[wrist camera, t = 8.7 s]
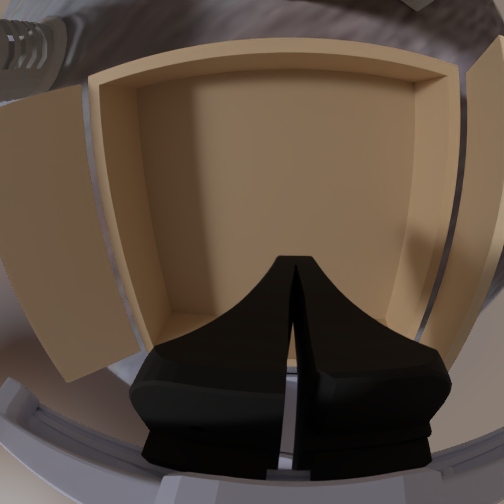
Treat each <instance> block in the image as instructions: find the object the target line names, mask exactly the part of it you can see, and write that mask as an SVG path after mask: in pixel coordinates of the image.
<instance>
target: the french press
mask: <svg viewBox="0 0 504 504" xmlns="http://www.w3.org/2000/svg"><path fill="white" fill-rule="evenodd" d="M7 35H12V36H13V38H14V40H15V41H9V39H8V36H7ZM19 36H22V37H21V38H19ZM67 39H68V38H67V31H66V24H65V23H64V22H63V21H62V20H61V18H60V17H59V16H47V17H45V18H43V19H41V20H39V21H38V22H36V23H35V22H31V23H30V22H27V21H21V22H20V21H18V20H11V21H9V20H6V19H1V20H0V102H2V101H11V100H13V101H14V102H16V101H19V100H22V99H25V98H28V97H31V96H34V95H38V94H41V93H45V92H48V91H49V89H50V88H51V86H52V85H53V83H54V81H55V80H56V78H57V76H58V73H59V70H60V68H61V65H62V63H63V60H64V58H65V51H66V45H67ZM8 99H9V100H8Z"/></svg>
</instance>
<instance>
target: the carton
mask: <svg viewBox="0 0 504 504" xmlns="http://www.w3.org/2000/svg"><path fill="white" fill-rule="evenodd" d="M88 89H89V109H90V122H91V133H92V142H93V150H94V158H95V165H96V172H97V178H98V184H99V189H100V195H101V200H102V205H103V210H104V215H105V219H106V224H107V228H108V232H109V236H110V241H111V244H112V248H113V252H114V256H115V260H116V263H117V267H118V270H119V274H120V277H121V280H122V283H123V287H124V290H125V293H126V296H127V299H128V302H129V305H130V308H131V311H132V314H133V317H134V319H135V322H136V325H137V328H138V330H139V333H140V335H141V338H142V341H143V343H144V346H145V348H146V351H147V352H149V353H150V352H151V350H152V349H153V347H154V346H155V345H158V344H161V343H164V342H167V341H170V340H172V339H175V338H178V337H180V336H183V335H185V334H187V333H190V332H192V331H194V330H196V329H198V328H200V327H202V326H204V325H206V324H208V323H209V322H211V321H213V320H215V319H216V318H218V317H219V316H221V315H222V314H224V313H225V312H227V311H228V310H230V309H231V308H232V307H234V306H235V305H236V304H237V303H239V302H240V301H241V300H242V299H243V298H244V297H245V296H246V295H247V294H248V293H249V292H250V291H251V290H252V289H253V288H254V287H255V286H256V285H257V284H258V283H259V282H260V280H261V279H262V278H263V277H264V275H265V274H266V273H267V271H268V270H269V269H270V267H271V266H272V264H273V263H274V261H275V259H276V257H278V256H279V255H288V256H312V257H313V258H314V259H315V261H316V262H317V264H318V265H319V266H320V268H321V269H322V270H323V272H324V273H325V274H326V276H327V277H328V278H329V279H330V280H331V281H332V283H333V284H334V285H335V286H336V287H337V288H338V289H339V290H340V291H341V292H342V293H343V294H344V295H345V296H346V297H347V298H348V299H349V300H350V301H351V302H353V303H354V304H355V305H356V306H357V307H359V308H360V309H361V310H362V311H364V312H365V313H366V314H368V315H369V316H371V317H372V318H374V319H375V320H377V321H378V322H380V323H381V324H383V325H385V326H386V327H388V328H390V329H392V330H393V331H395V332H397V333H399V334H401V335H403V336H405V337H407V338H409V339H411V340H414V339H415V336H416V334H417V331H418V329H419V326H420V324H421V321H422V318H423V316H424V313H425V310H426V307H427V305H428V302H429V299H430V296H431V293H432V289H433V286H434V283H435V280H436V276H437V273H438V269H439V266H440V262H441V258H442V254H443V250H444V246H445V242H446V238H447V233H448V228H449V223H450V218H451V213H452V207H453V201H454V194H455V187H456V179H457V170H458V159H459V145H460V87H459V73H458V66H457V65H454V64H451V63H448V62H445V61H442V60H439V59H436V58H432V57H429V56H425V55H421V54H418V53H414V52H410V51H405V50H401V49H396V48H391V47H386V46H381V45H375V44H368V43H361V42H354V41H345V40H334V39H320V38H259V39H245V40H234V41H225V42H217V43H210V44H204V45H198V46H192V47H187V48H182V49H177V50H172V51H168V52H163V53H159V54H155V55H151V56H148V57H144V58H140V59H137V60H134V61H130V62H127V63H124V64H121V65H118V66H115V67H112V68H109V69H106V70H104V71H101V72H98V73H96V74H93V75H91V76H88ZM287 366H294V367H297V361H296V350H295V338H294V327H293V326H292V333H291V340H290V346H289V353H288V359H287Z"/></svg>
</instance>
